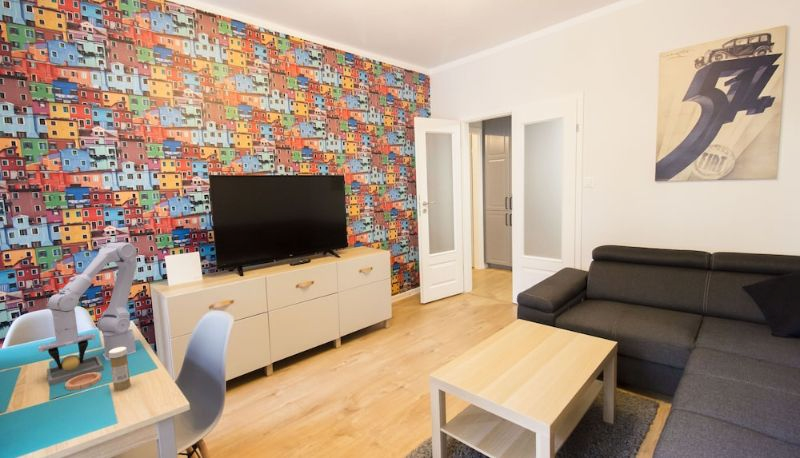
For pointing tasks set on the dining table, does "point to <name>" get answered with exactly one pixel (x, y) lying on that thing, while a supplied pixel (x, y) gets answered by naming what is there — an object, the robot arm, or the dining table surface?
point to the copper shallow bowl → (83, 381)
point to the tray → (74, 370)
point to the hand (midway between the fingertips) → (70, 365)
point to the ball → (70, 362)
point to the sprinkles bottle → (119, 368)
